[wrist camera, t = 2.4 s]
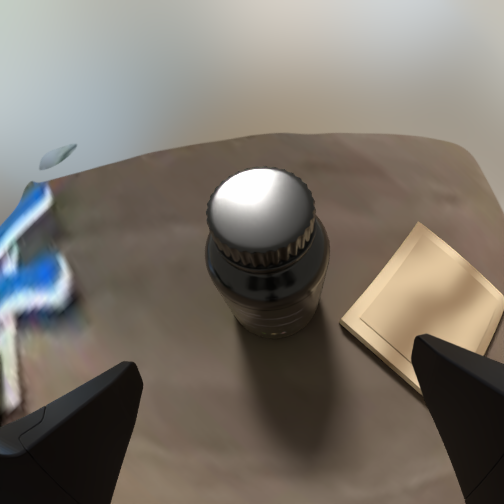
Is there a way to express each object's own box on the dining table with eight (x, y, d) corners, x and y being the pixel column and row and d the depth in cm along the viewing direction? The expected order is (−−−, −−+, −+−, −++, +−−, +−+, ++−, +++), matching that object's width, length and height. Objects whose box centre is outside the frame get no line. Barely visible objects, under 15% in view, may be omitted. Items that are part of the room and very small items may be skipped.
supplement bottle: (232, 262, 25) (193, 156, 14) (313, 257, 24) (326, 146, 14) (230, 342, 22) (174, 279, 11) (321, 338, 21) (353, 270, 10)
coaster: (501, 303, 19) (508, 299, 18) (443, 414, 16) (449, 414, 15) (414, 227, 24) (418, 220, 23) (338, 322, 21) (341, 318, 20)
